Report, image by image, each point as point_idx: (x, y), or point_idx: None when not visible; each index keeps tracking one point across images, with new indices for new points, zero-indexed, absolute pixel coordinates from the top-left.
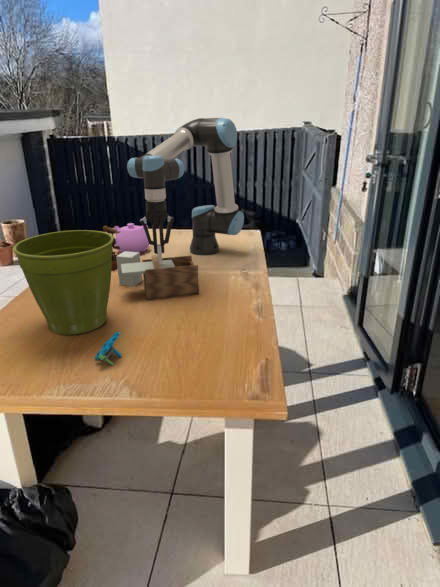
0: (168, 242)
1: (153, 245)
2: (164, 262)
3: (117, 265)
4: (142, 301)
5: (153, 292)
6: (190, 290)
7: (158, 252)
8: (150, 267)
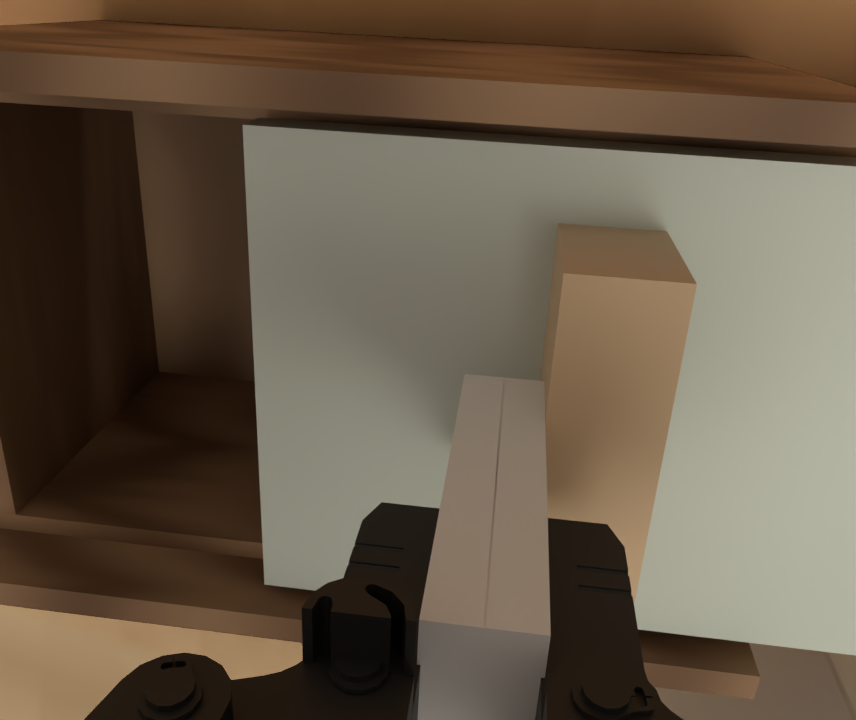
0: (133, 673)
1: (667, 711)
2: (400, 498)
3: None
4: (825, 30)
5: (679, 58)
6: (175, 28)
7: (527, 503)
8: (714, 332)
